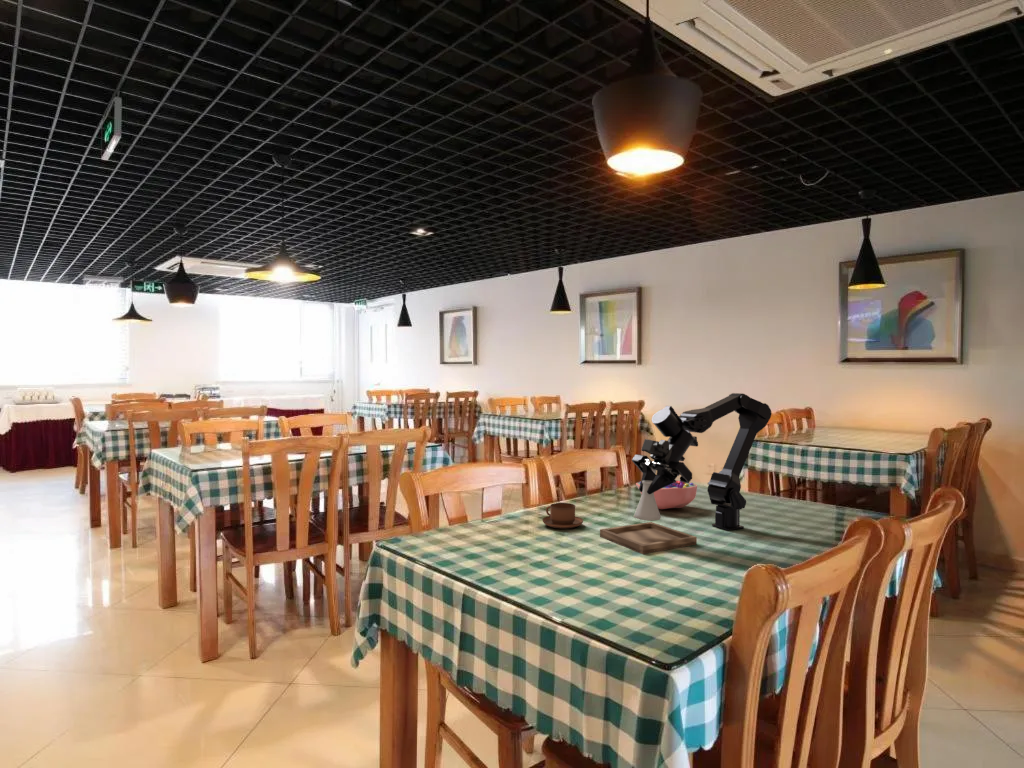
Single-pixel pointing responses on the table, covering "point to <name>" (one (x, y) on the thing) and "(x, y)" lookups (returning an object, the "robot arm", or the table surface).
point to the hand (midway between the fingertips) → (644, 492)
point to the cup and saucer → (562, 516)
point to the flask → (647, 505)
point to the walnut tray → (648, 537)
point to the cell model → (674, 495)
